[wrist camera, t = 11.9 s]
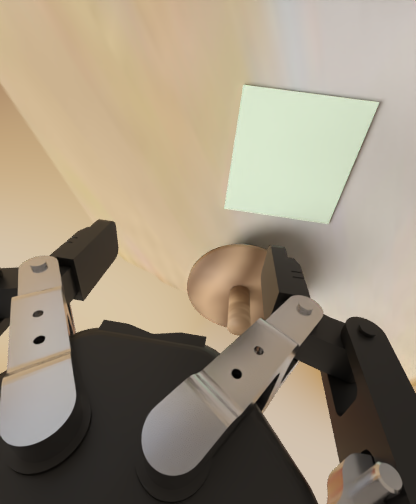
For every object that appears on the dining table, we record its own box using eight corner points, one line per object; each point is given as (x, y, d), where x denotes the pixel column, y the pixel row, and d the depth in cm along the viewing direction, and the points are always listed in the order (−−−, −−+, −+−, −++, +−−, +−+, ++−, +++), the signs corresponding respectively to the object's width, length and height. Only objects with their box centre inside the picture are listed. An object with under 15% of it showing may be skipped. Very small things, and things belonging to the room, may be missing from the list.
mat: (377, 102, 31) (379, 102, 31) (327, 222, 41) (328, 224, 40) (243, 84, 32) (243, 84, 32) (224, 207, 42) (224, 208, 41)
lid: (309, 254, 36) (324, 291, 29) (277, 331, 45) (283, 373, 38) (192, 235, 36) (181, 268, 30) (185, 315, 46) (175, 354, 39)
